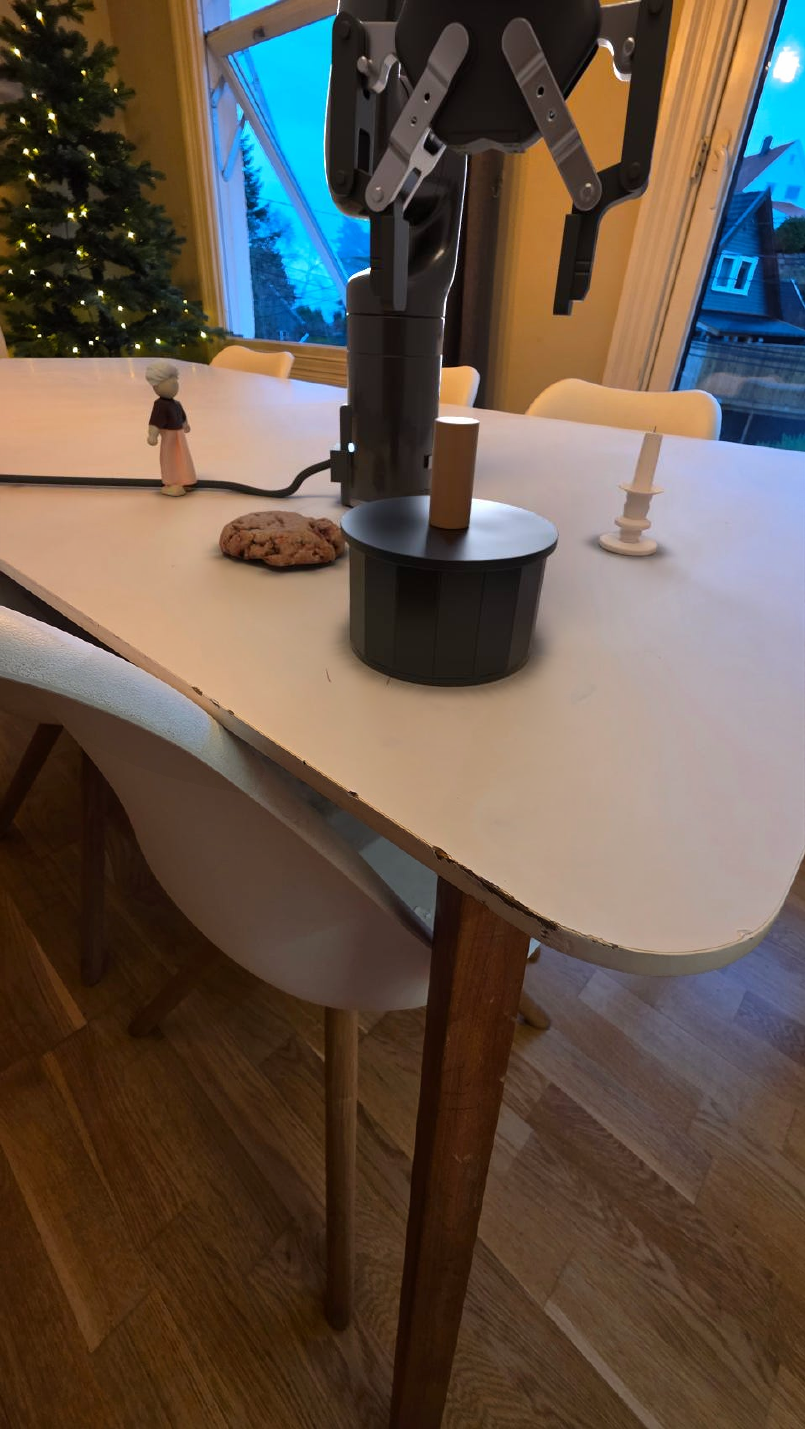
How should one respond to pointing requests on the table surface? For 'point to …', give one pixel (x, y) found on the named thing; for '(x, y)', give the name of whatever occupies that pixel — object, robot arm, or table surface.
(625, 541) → the candle
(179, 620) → the table surface
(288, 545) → the cookie
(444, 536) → the tin lid
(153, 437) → the grandmother figurine
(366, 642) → the tin
